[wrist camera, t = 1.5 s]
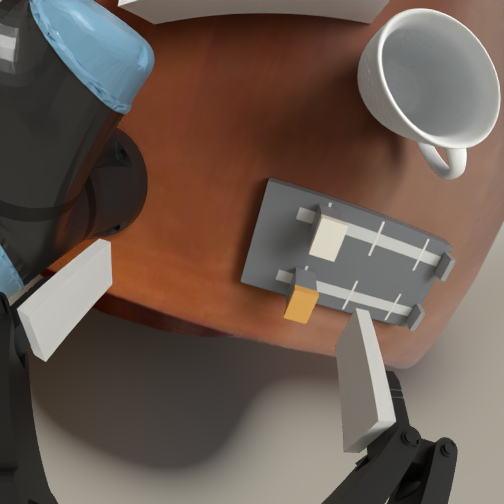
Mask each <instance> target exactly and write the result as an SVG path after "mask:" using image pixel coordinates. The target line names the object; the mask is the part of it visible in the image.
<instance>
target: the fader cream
mask: <svg viewBox="0 0 504 504" xmlns="http://www.w3.org/2000/svg"><path fill="white" fill-rule="evenodd" d="M348 227H349V226H348V224H347V222H345V220H344V218H343V216H342V214H341V211H340V210H337V209H334V208H331V207H328V206H325V205H322V204H319V205H318V208H317V211H316V214H315V217H314V220H313V223H312V226H311V228H310V231H309V246H310V247H309V249H308V251H309V254H310V255H313V256H316V257H320V258H323V259H326V260H330V261H333V262H334V261H335V259H336V256H337V254H338V251H339V249H340V247H341V244H342V242H343V239H344V237H345V234H346V232H347V229H348Z"/></svg>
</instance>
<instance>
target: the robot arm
mask: <svg viewBox="0 0 504 504" xmlns="http://www.w3.org/2000/svg"><path fill="white" fill-rule="evenodd" d="M153 66H154V53H153V50H152V48H151V46H150V45H149V44H148V42H147V41H146V40H145V39H144V38H143V37H141V36H140V35H139V34H138V33H137V32H136V31H135V30H133V29H132V28H131V27H130V26H128V25H127V24H126V23H125V22H123V21H122V20H121V19H119V18H118V17H117V16H115V15H114V14H112V13H111V12H110V11H108V10H107V9H105V8H104V7H102V6H101V5H99V4H98V3H96V2H94V1H93V0H0V504H58V503H57V501H56V499H55V497H54V496H53V494H52V493H51V491H50V489H49V486H48V483H47V479H46V476H45V472H44V468H43V464H42V460H41V456H40V451H39V446H38V442H37V436H36V430H35V424H34V417H33V409H32V401H31V391H30V377H29V356H28V351H27V350H28V348H29V347H30V346H31V348H32V350H33V353H34V355H36V356H37V357H39V358H41V359H42V360H44V361H47V360H48V358H49V357H50V356H51V354H52V353H53V352H54V351H55V350H56V348H57V347H58V346H59V345H60V343H61V342H62V341H63V340H64V338H65V337H66V336H67V335H68V334H69V332H70V331H71V330H72V329H73V328H74V327H75V325H76V324H77V323H78V322H79V321H80V320H81V318H82V317H83V316H84V315H85V314H86V313H87V311H88V310H89V309H90V308H91V307H92V306H93V305H94V304H95V302H96V301H97V300H98V299H99V298H100V297H101V296H102V295H103V294H104V293H105V291H106V290H107V289H108V288H109V287H110V286H111V285H112V269H111V242H109V241H105V240H102V239H98V240H97V241H96V242H94V243H93V244H92V245H91V246H89V247H88V248H87V249H85V250H84V251H83V252H82V253H80V254H79V255H78V256H77V257H75V258H74V259H73V260H72V261H71V262H69V263H68V264H67V265H66V266H65V267H63V268H62V269H61V270H60V271H59V272H57V273H56V274H55V275H54V276H53V277H51V276H47V277H45V278H43V279H41V280H40V281H38V282H37V283H36V284H35V285H34V286H33V287H31V288H30V289H29V290H28V292H26V293H24V294H23V295H22V296H21V297H20V298H19V299H18V300H17V301H16V302H15V303H14V304H13V305H12V306H10V305H9V302H8V299H7V298H9V297H10V296H12V295H13V294H15V293H16V292H18V291H19V290H20V291H21V290H22V289H24V286H25V285H26V284H28V283H29V282H30V281H31V280H32V279H33V278H35V277H36V276H37V275H39V274H40V273H41V272H42V271H44V270H45V269H46V268H47V267H49V266H50V265H51V264H53V263H54V262H55V261H56V260H58V259H59V258H60V257H62V256H63V255H64V254H66V253H67V252H68V251H70V250H71V249H72V248H74V247H75V246H77V245H78V244H79V243H81V242H82V241H83V240H88V239H94V238H100V237H106V236H111V235H114V234H116V233H118V232H120V231H122V230H123V229H124V228H126V227H127V226H128V225H130V224H131V223H132V222H133V221H134V220H135V219H136V218H137V217H138V215H139V214H140V212H141V210H142V208H143V206H144V203H145V199H146V195H147V172H146V167H145V163H144V160H143V157H142V155H141V153H140V151H139V149H138V147H137V146H136V144H135V143H134V142H133V140H132V139H131V138H130V137H129V136H128V135H127V134H125V133H124V132H123V131H121V130H119V129H117V128H116V127H117V125H118V123H119V122H120V120H121V119H122V117H123V116H124V114H127V113H128V112H129V110H130V109H131V108H132V101H133V100H134V98H135V97H136V95H137V93H138V92H139V90H140V89H141V87H142V85H143V84H144V82H145V81H146V79H147V78H148V76H149V75H150V73H151V71H152V69H153ZM335 347H336V356H337V365H338V375H339V386H340V398H341V411H342V428H343V449H344V452H352V453H360V452H361V451H362V450H364V449H365V448H366V447H367V453H368V454H367V455H366V456H364V457H363V458H362V459H360V460H359V461H358V462H356V465H357V466H356V467H355V468H354V470H353V471H352V472H351V473H350V474H349V475H348V476H347V477H346V479H345V480H344V481H343V482H342V483H341V484H340V485H339V486H338V487H337V488H336V490H334V492H333V493H332V494H331V495H330V496H329V497H328V498H327V499H326V500H325V501H324V502H323V503H322V504H385V502H386V501H387V499H388V498H389V497H390V498H389V500H388V503H387V504H448V500H449V496H450V491H451V487H452V482H453V477H454V472H455V466H456V461H457V447H456V444H455V443H454V442H453V441H452V440H451V439H449V438H446V437H444V438H440V439H439V440H438V441H437V442H435V443H434V442H431V441H428V440H425V439H422V438H421V436H420V434H419V432H418V431H417V430H416V429H415V428H413V427H411V426H410V424H409V419H408V416H407V411H406V407H405V402H404V399H403V394H402V391H401V386H400V382H399V380H398V378H397V377H396V375H395V374H394V372H392V371H385V369H384V364H383V360H382V356H381V353H380V349H379V345H378V341H377V338H376V334H375V331H374V327H373V324H372V320H371V317H370V313H369V311H367V310H363V309H359V308H355V310H354V312H353V314H352V316H351V318H350V320H349V322H348V323H347V325H346V327H345V329H344V331H343V333H342V335H341V336H340V338H339V340H338V342H337V343H336V345H335Z"/></svg>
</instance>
